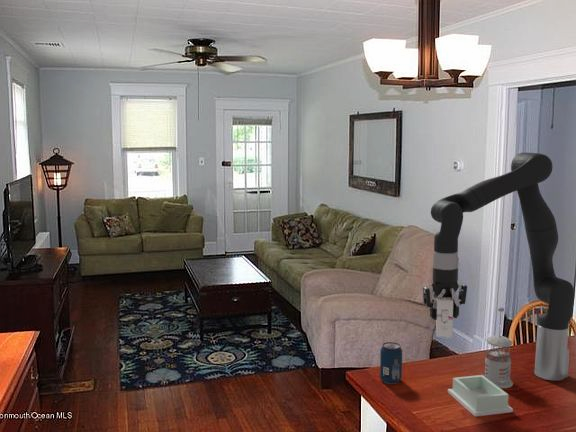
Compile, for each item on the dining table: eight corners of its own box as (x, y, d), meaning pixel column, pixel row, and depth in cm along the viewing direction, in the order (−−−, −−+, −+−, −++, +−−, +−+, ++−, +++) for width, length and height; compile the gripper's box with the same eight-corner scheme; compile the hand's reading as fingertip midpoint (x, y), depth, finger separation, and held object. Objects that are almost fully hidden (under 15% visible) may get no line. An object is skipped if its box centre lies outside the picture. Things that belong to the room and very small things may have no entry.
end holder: (482, 388, 183) (483, 373, 183) (512, 412, 168) (513, 395, 167) (447, 392, 181) (448, 376, 180) (475, 416, 165) (475, 399, 165)
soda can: (386, 374, 194) (387, 339, 192) (405, 379, 190) (406, 344, 188) (375, 381, 189) (376, 345, 187) (394, 387, 185) (395, 350, 183)
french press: (475, 382, 188) (479, 307, 184) (491, 371, 197) (494, 299, 193) (505, 391, 181) (510, 314, 178) (520, 379, 190) (524, 305, 186)
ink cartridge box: (435, 327, 186) (436, 282, 183) (451, 328, 184) (452, 283, 182) (436, 337, 177) (437, 290, 175) (452, 338, 176) (454, 291, 174)
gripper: (461, 261, 183) (459, 312, 185) (418, 264, 180) (417, 316, 182) (473, 267, 175) (471, 320, 178) (428, 270, 173) (427, 324, 175)
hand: (444, 318), depth 180 cm, fingers closed on ink cartridge box, 6 cm apart
